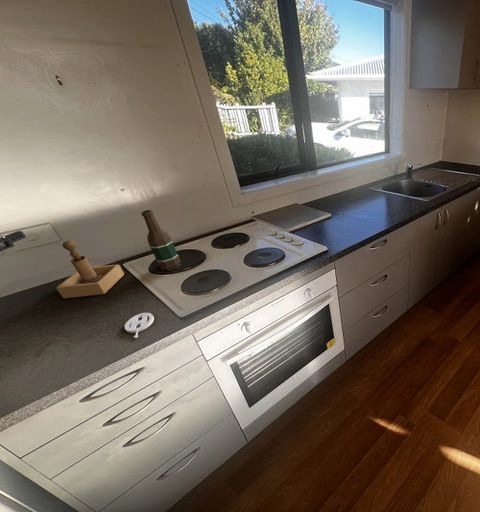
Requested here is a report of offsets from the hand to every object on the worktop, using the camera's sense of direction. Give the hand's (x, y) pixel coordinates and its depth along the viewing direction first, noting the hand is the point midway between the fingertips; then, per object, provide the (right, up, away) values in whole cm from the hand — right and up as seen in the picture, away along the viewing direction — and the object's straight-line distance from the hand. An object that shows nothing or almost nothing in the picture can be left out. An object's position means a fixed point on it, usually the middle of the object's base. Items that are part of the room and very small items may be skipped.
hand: (10, 233), depth 84 cm
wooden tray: (+1, -18, +23) cm, 29 cm away
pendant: (+33, -28, +5) cm, 44 cm away
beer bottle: (+21, -11, +35) cm, 42 cm away
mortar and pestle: (+1, -17, +23) cm, 29 cm away
